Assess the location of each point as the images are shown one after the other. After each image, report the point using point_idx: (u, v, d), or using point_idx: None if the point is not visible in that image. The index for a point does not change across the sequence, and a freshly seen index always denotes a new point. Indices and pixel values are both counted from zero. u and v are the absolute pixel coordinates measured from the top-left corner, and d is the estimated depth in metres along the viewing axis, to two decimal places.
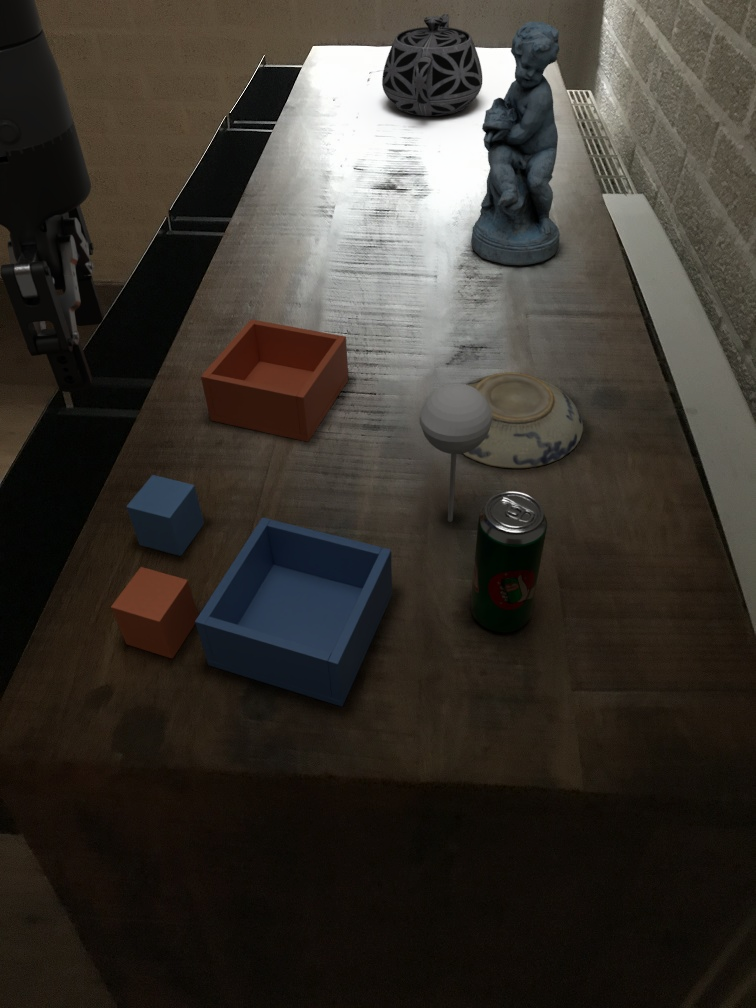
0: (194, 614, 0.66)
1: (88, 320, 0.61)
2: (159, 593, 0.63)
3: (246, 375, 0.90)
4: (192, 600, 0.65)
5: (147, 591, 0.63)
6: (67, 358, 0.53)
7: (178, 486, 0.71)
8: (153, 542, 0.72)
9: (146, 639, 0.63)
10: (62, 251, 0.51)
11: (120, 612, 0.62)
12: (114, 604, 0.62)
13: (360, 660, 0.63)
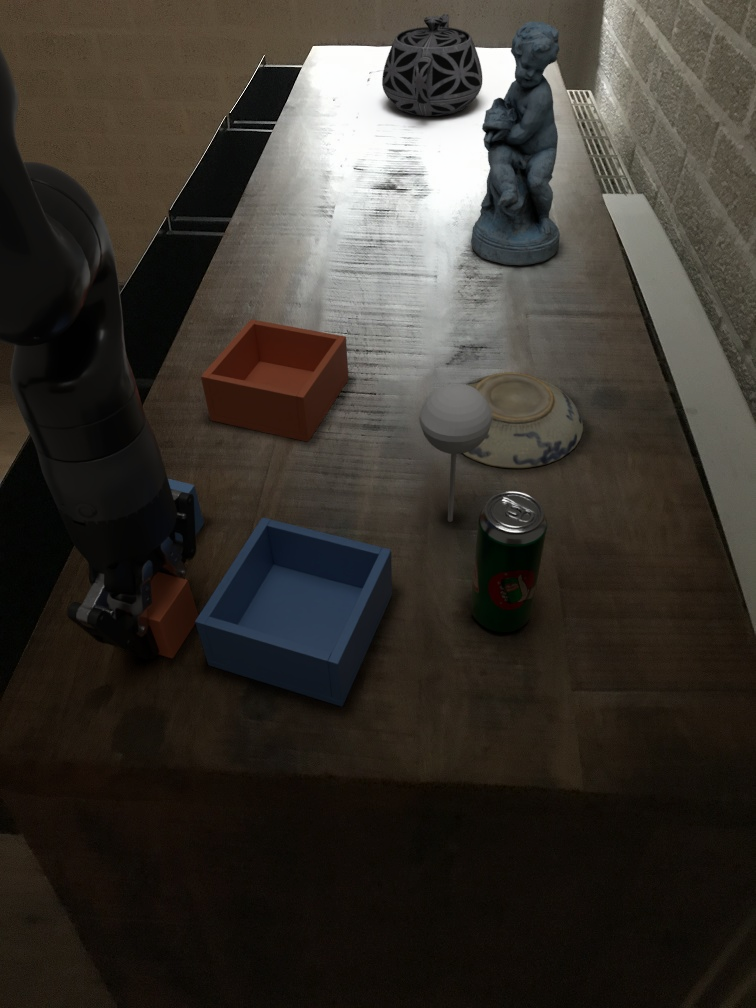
0: (194, 614, 0.66)
1: None
2: (159, 593, 0.63)
3: (246, 375, 0.90)
4: (192, 600, 0.65)
5: None
6: (134, 641, 0.61)
7: (178, 486, 0.71)
8: None
9: None
10: (136, 576, 0.58)
11: None
12: None
13: (360, 660, 0.63)
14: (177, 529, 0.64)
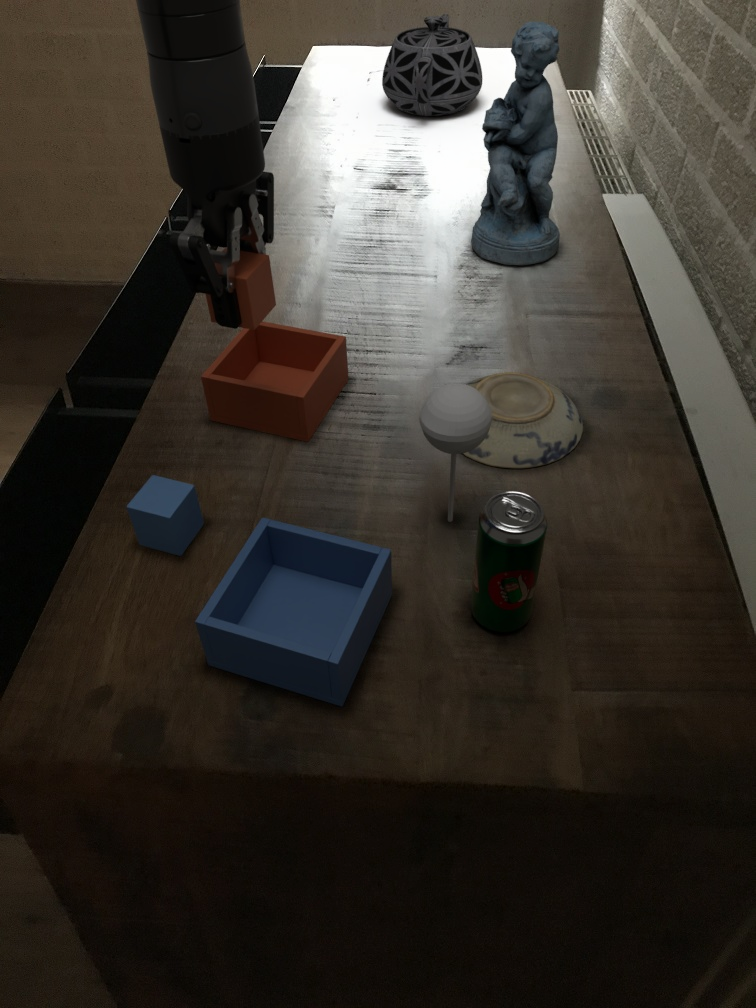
0: (272, 297, 0.72)
1: None
2: (244, 262, 0.69)
3: (246, 375, 0.90)
4: (271, 280, 0.71)
5: None
6: (221, 300, 0.68)
7: (178, 486, 0.71)
8: (153, 542, 0.72)
9: None
10: (228, 221, 0.64)
11: None
12: None
13: (360, 660, 0.63)
14: (258, 210, 0.70)
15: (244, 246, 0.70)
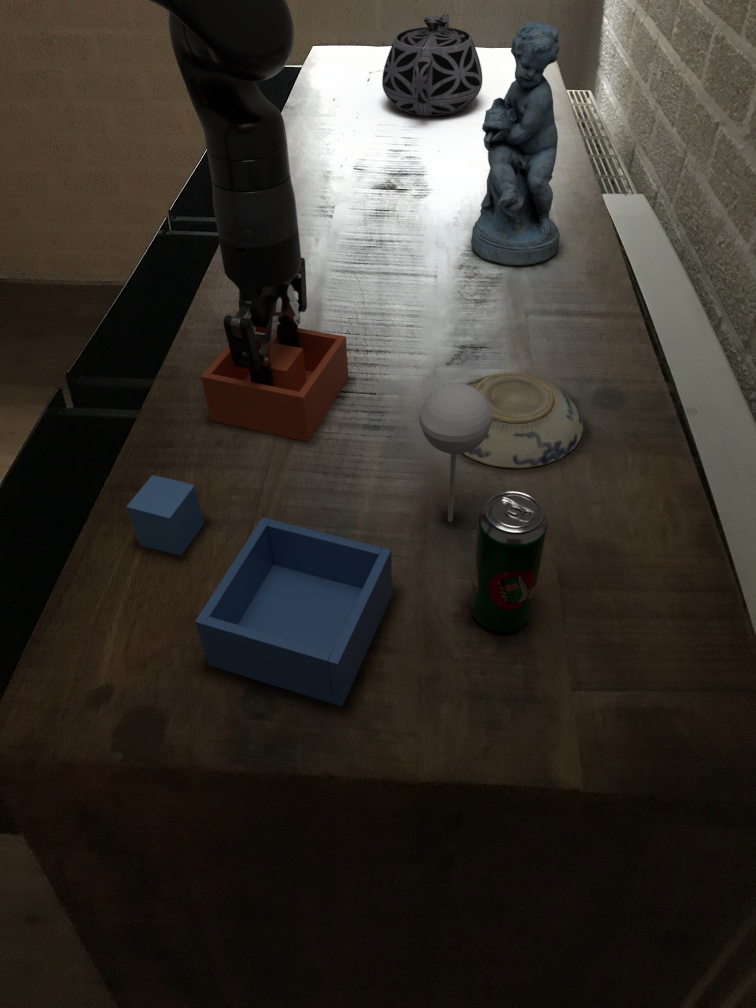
0: (304, 380, 0.88)
1: None
2: (283, 355, 0.84)
3: (246, 375, 0.90)
4: (304, 367, 0.87)
5: (273, 355, 0.85)
6: (258, 372, 0.81)
7: (178, 486, 0.71)
8: (153, 542, 0.72)
9: None
10: (270, 307, 0.78)
11: None
12: None
13: (360, 660, 0.63)
14: (293, 287, 0.84)
15: (283, 316, 0.85)
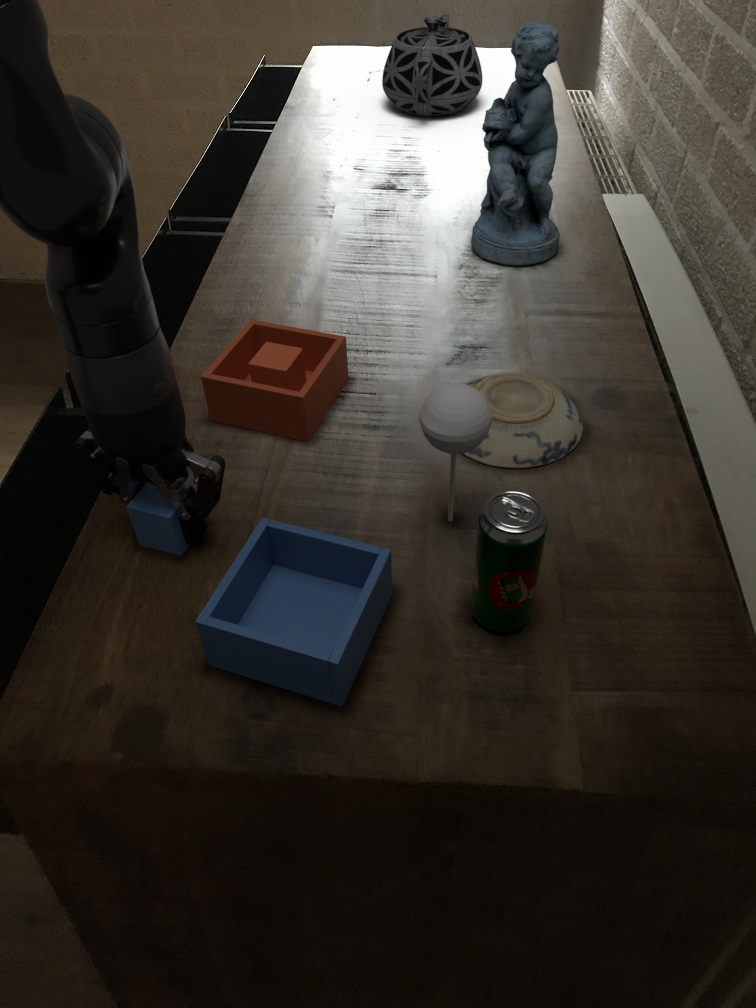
0: (304, 380, 0.88)
1: None
2: (283, 355, 0.84)
3: (246, 375, 0.90)
4: (304, 367, 0.87)
5: (273, 355, 0.85)
6: None
7: None
8: (153, 542, 0.72)
9: None
10: None
11: (255, 368, 0.84)
12: (251, 362, 0.84)
13: (360, 660, 0.63)
14: None
15: (188, 498, 0.70)
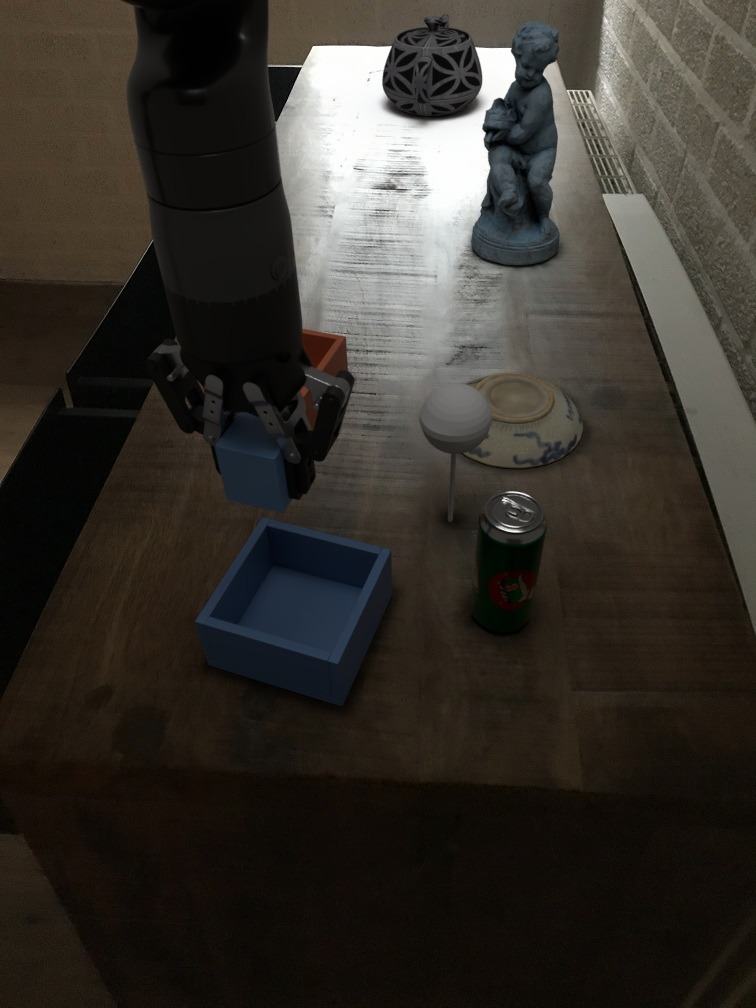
0: None
1: None
2: None
3: None
4: None
5: None
6: None
7: None
8: (246, 496, 0.55)
9: None
10: None
11: None
12: None
13: (360, 660, 0.63)
14: None
15: (296, 434, 0.53)
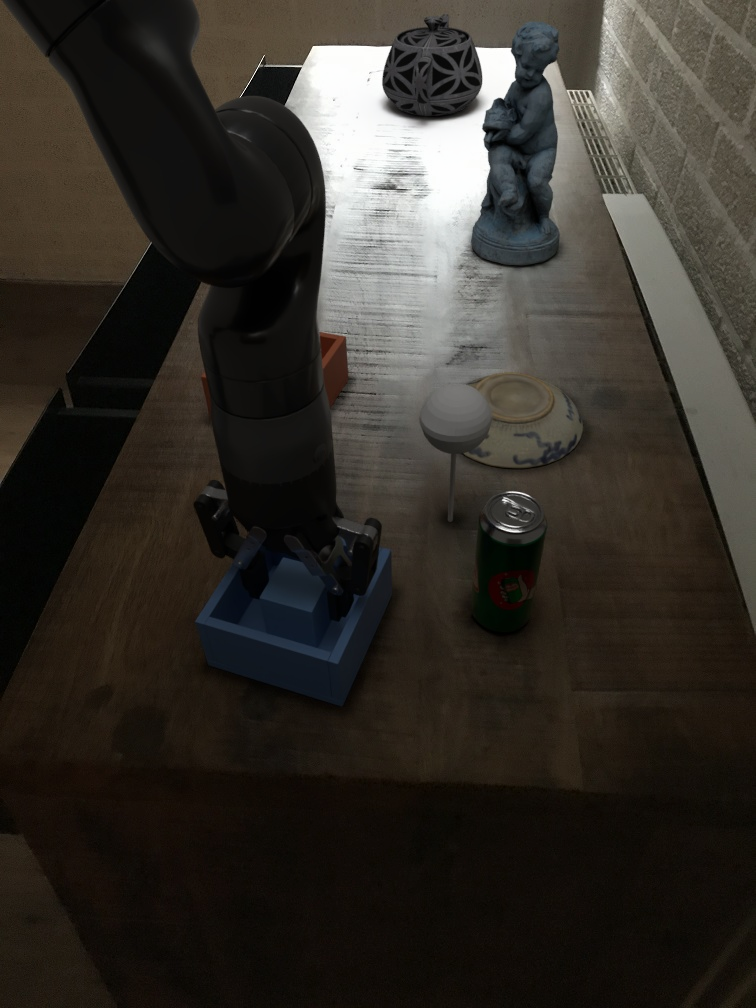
0: None
1: None
2: None
3: None
4: None
5: None
6: None
7: None
8: (284, 635, 0.64)
9: None
10: None
11: None
12: None
13: (360, 660, 0.63)
14: None
15: (338, 569, 0.59)
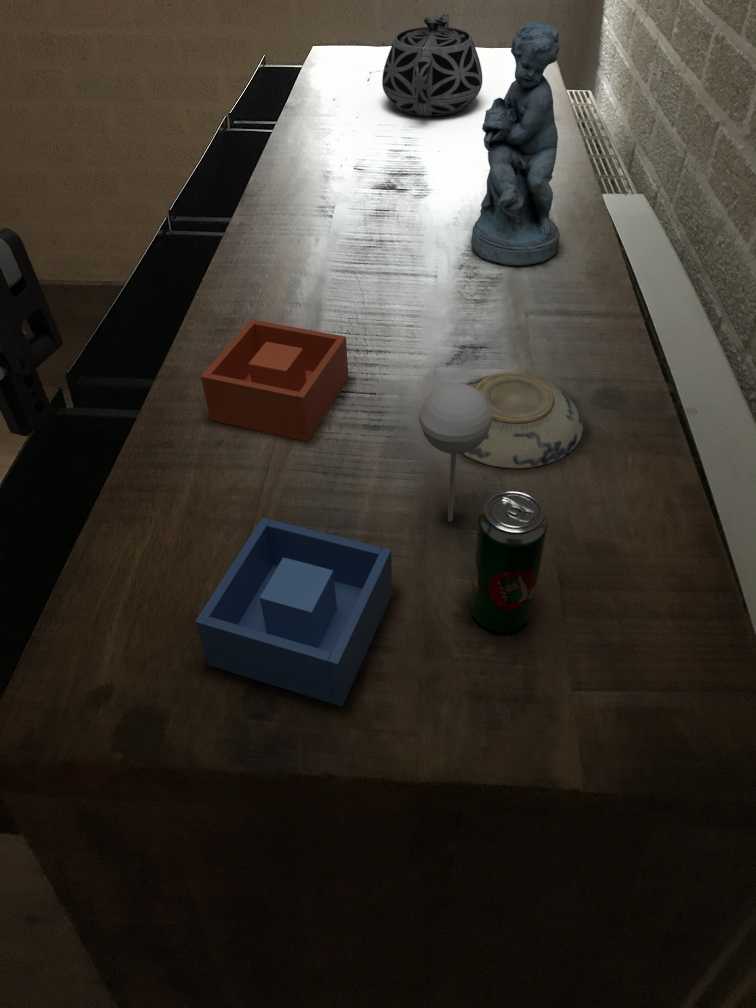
0: (304, 380, 0.88)
1: None
2: (283, 355, 0.84)
3: (246, 375, 0.90)
4: (304, 367, 0.87)
5: (273, 355, 0.85)
6: None
7: (315, 572, 0.63)
8: (284, 635, 0.64)
9: None
10: None
11: (255, 368, 0.84)
12: (251, 362, 0.84)
13: (360, 660, 0.63)
14: None
15: None
